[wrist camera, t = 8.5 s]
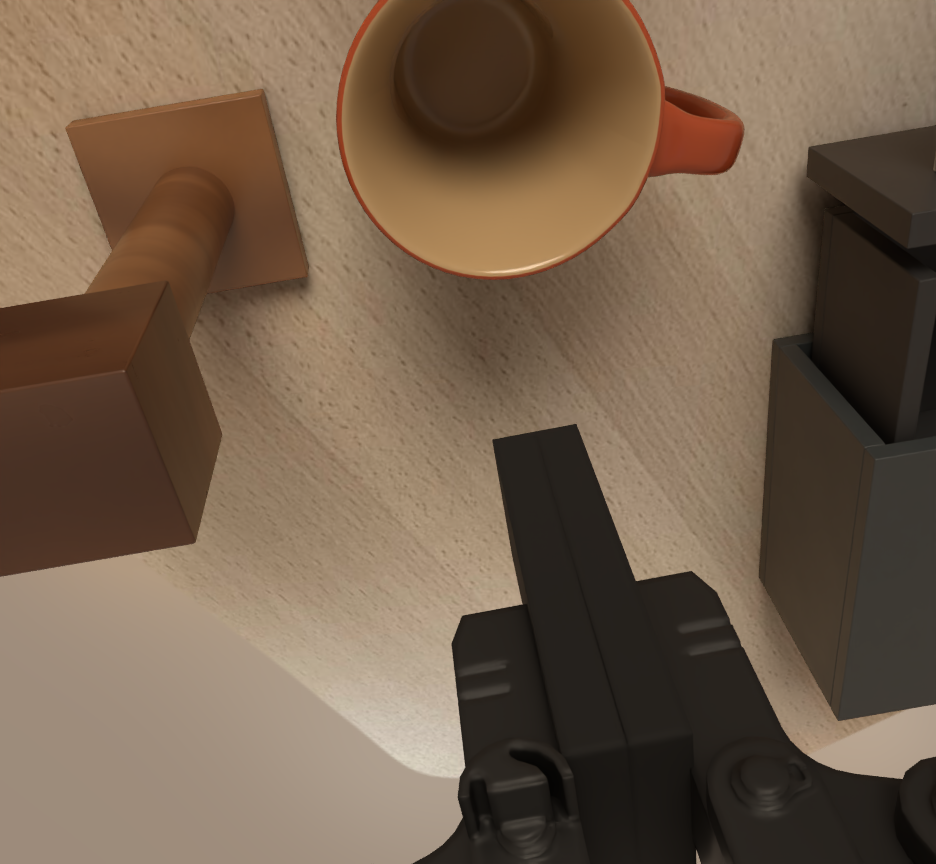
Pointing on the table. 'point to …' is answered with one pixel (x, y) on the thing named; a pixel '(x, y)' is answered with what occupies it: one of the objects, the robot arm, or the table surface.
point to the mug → (513, 128)
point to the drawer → (879, 279)
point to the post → (191, 198)
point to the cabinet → (849, 542)
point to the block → (100, 429)
